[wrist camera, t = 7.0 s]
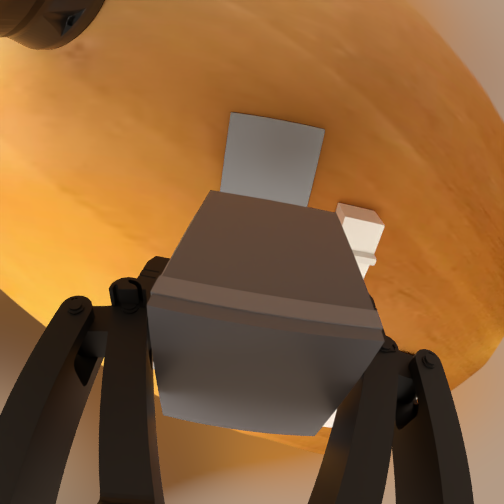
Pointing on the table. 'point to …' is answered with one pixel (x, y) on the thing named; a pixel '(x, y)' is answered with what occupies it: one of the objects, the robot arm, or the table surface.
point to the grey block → (261, 318)
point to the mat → (270, 158)
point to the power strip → (361, 233)
